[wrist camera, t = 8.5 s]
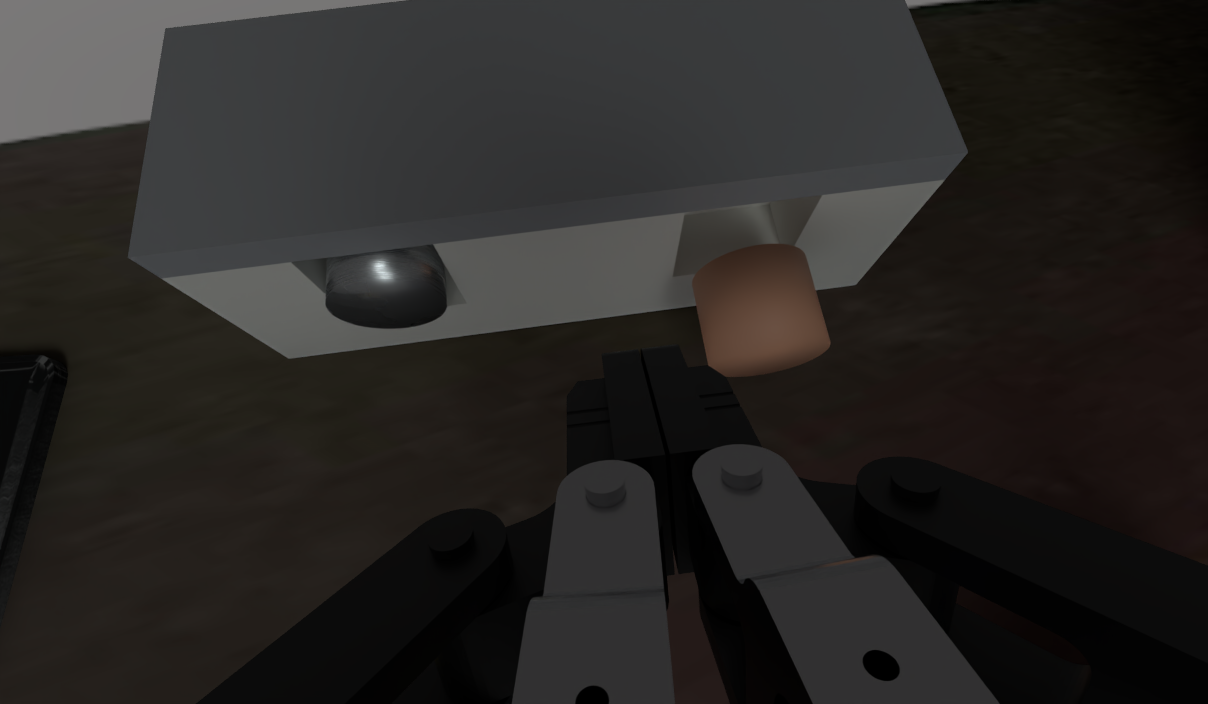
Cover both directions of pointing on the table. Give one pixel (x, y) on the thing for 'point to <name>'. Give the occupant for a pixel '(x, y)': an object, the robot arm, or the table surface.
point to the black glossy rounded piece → (387, 287)
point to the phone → (23, 448)
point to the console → (531, 153)
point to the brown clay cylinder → (759, 311)
